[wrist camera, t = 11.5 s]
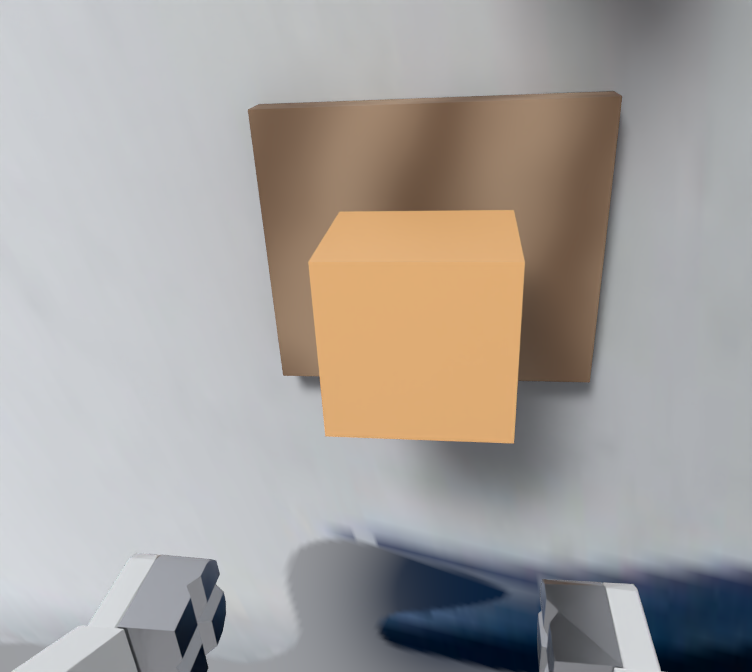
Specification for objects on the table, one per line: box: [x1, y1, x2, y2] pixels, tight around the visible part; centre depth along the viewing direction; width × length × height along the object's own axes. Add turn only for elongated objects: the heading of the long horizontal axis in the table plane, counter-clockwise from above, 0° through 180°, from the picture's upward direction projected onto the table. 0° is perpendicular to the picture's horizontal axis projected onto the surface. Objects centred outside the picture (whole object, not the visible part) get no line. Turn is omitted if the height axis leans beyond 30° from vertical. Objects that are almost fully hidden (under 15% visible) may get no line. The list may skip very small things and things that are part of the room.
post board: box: [248, 91, 622, 382], centre depth 24 cm, size 14×12×10 cm
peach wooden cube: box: [308, 210, 525, 443], centre depth 22 cm, size 6×6×5 cm
